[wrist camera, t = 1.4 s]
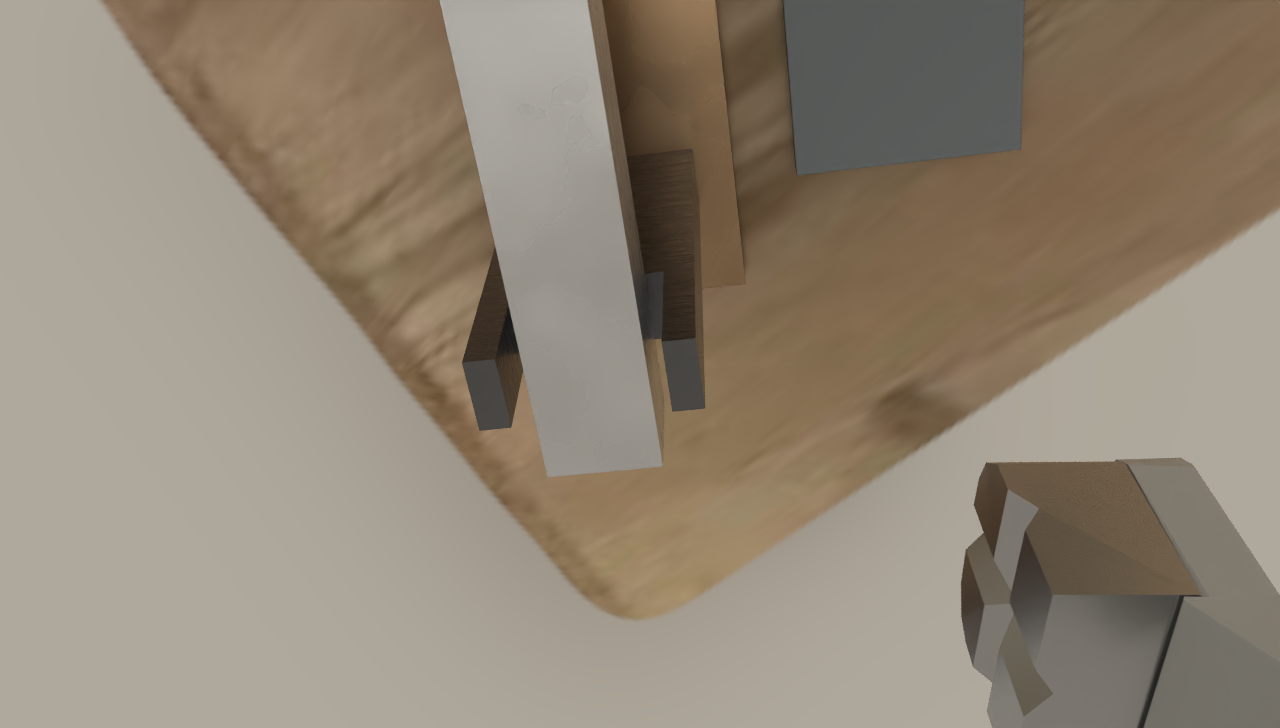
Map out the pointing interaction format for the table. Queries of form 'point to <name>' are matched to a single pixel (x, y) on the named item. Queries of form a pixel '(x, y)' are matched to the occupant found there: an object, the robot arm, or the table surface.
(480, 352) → the rack
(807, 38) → the mat
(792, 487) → the table surface
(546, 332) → the rail
